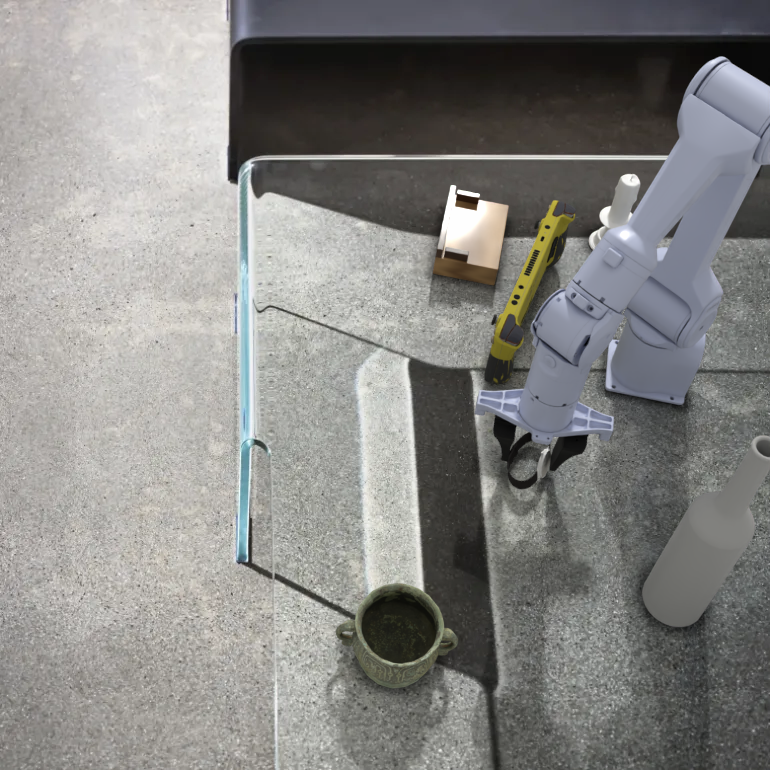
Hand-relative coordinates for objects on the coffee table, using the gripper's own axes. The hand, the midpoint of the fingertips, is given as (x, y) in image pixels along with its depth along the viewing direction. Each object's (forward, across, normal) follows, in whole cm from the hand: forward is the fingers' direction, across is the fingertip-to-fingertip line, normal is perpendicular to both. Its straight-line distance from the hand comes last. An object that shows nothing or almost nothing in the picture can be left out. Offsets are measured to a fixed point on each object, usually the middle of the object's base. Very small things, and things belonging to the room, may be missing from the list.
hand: (529, 459), depth 129 cm
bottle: (+2, +17, -13) cm, 21 cm away
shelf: (+1, -11, +32) cm, 34 cm away
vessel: (+2, -11, -26) cm, 28 cm away
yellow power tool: (+2, -3, +22) cm, 22 cm away
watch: (+2, 0, 0) cm, 2 cm away
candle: (+2, +7, +38) cm, 39 cm away
